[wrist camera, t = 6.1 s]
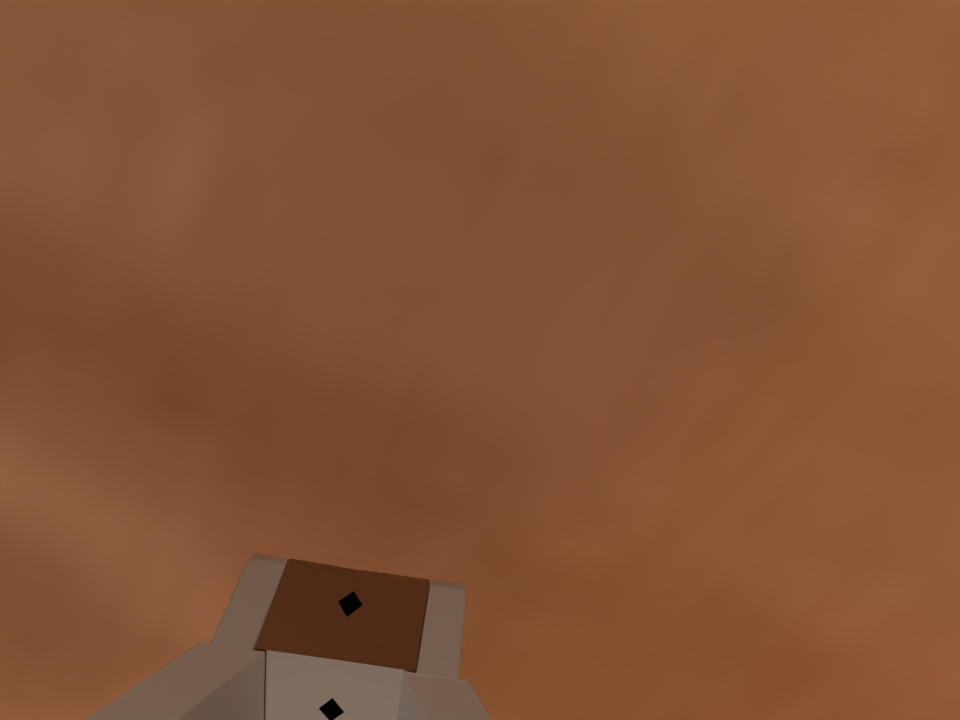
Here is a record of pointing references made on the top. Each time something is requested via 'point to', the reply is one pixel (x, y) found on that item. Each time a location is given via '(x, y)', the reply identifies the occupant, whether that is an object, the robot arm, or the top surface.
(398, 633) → the robot arm
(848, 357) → the top surface
